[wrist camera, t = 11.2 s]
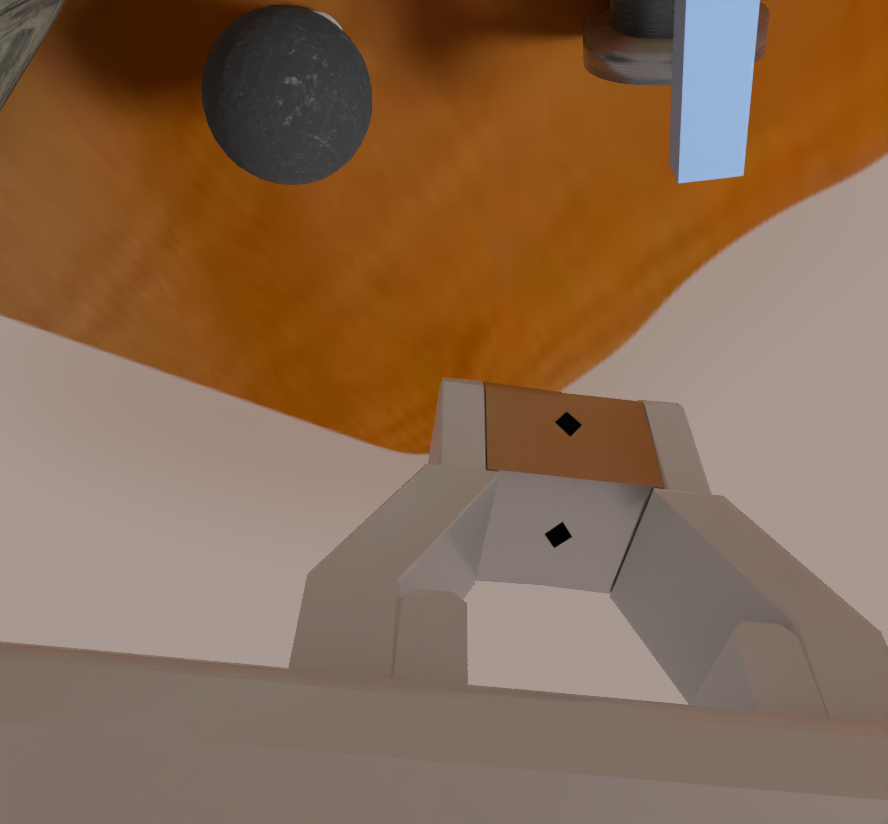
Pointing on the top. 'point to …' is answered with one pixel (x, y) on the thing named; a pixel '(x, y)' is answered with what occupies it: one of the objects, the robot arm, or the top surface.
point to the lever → (711, 87)
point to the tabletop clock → (22, 37)
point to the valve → (641, 41)
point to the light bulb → (287, 94)
